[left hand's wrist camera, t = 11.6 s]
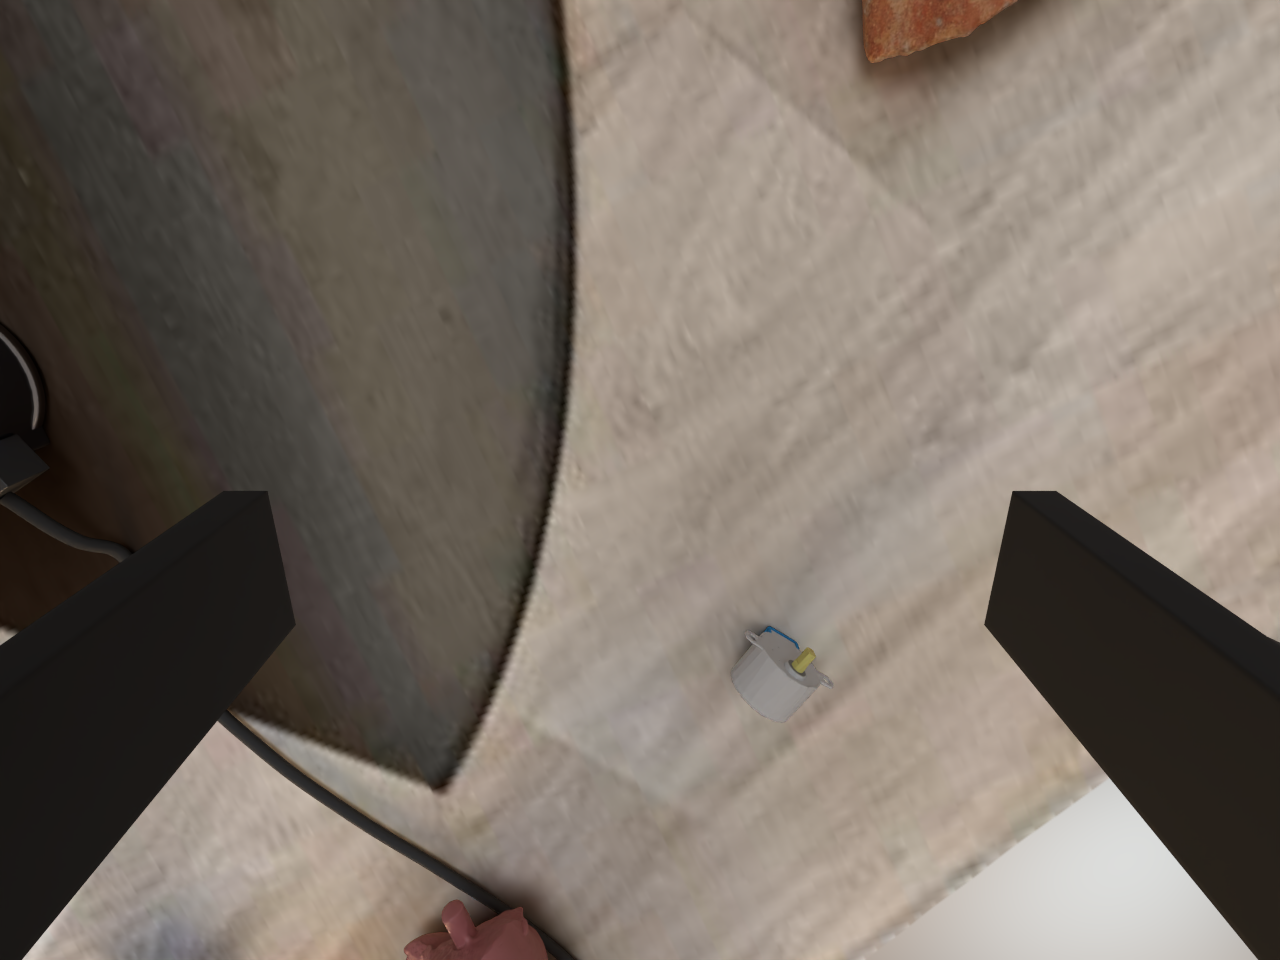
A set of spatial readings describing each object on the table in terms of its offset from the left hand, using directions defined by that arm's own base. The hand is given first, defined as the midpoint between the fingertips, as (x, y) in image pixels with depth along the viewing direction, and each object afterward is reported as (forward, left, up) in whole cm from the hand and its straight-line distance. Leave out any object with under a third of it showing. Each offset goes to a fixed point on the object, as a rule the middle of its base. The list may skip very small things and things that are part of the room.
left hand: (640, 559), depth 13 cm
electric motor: (+21, +9, -28) cm, 36 cm away
